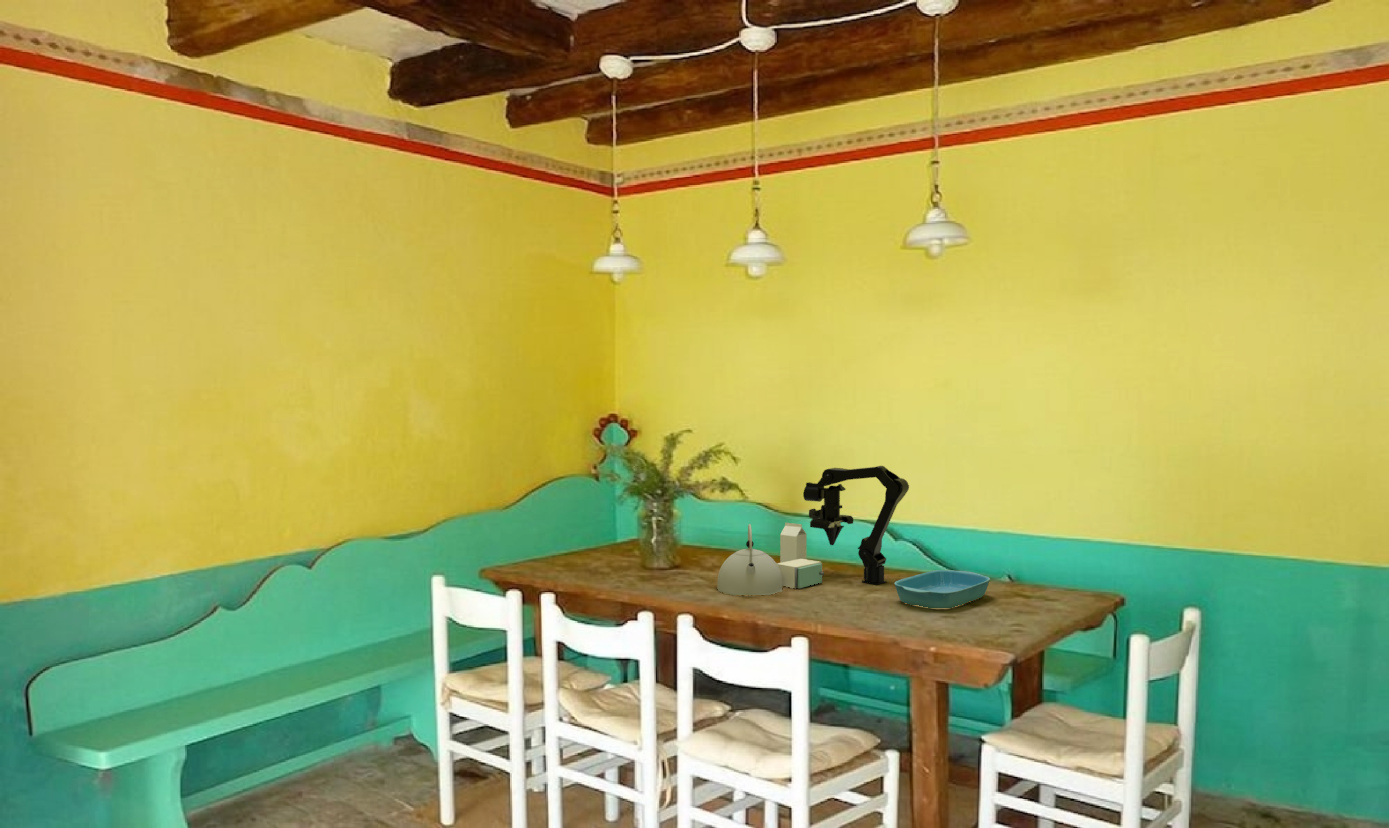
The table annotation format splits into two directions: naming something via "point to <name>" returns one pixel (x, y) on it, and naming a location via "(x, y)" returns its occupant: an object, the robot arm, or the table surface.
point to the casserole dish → (942, 588)
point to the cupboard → (793, 571)
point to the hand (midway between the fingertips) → (831, 545)
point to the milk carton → (792, 543)
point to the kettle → (749, 572)
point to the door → (810, 575)
